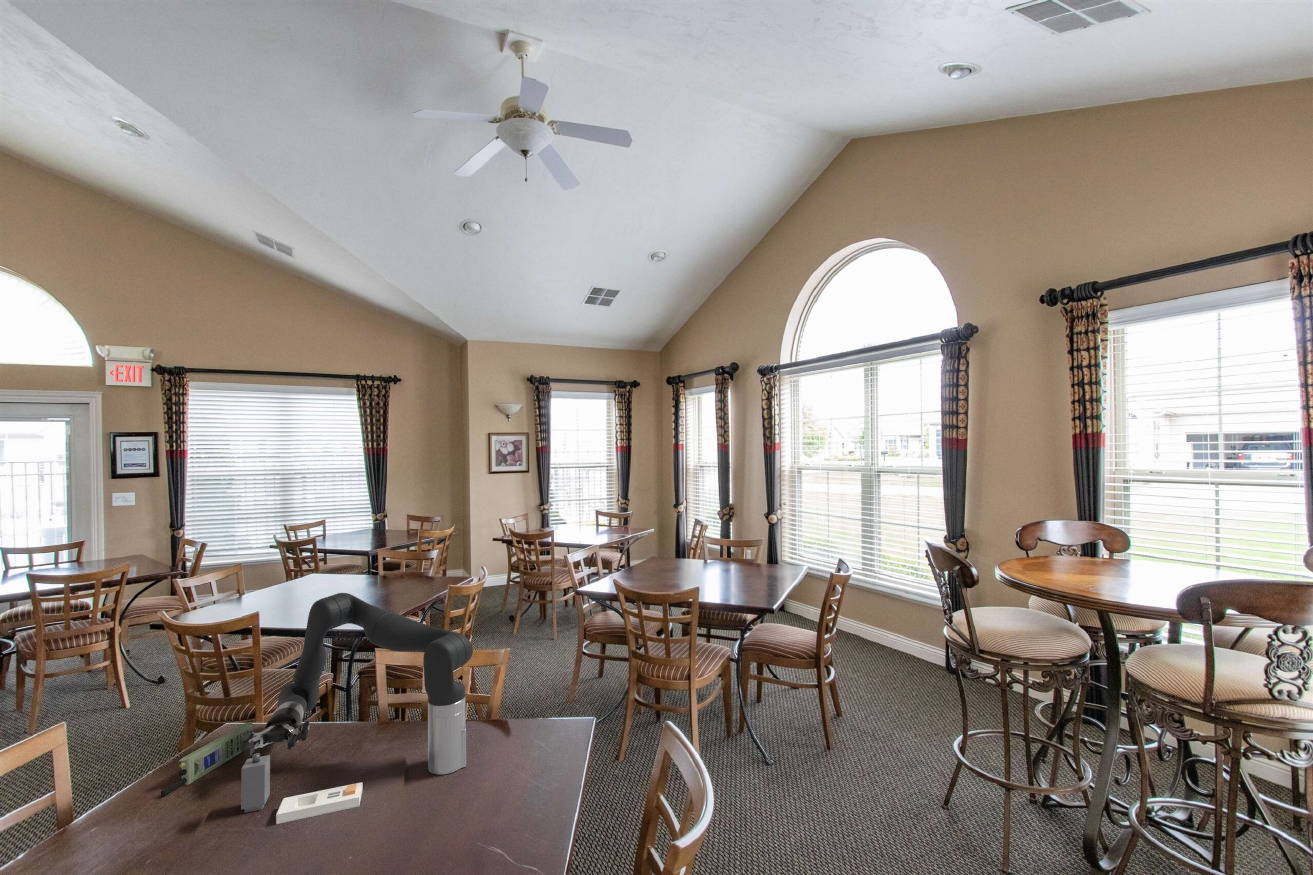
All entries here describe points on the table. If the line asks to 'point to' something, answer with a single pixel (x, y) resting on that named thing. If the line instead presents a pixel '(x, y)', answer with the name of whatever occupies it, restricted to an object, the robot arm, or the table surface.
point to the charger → (255, 782)
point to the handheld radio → (210, 756)
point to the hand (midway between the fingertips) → (269, 749)
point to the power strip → (319, 802)
